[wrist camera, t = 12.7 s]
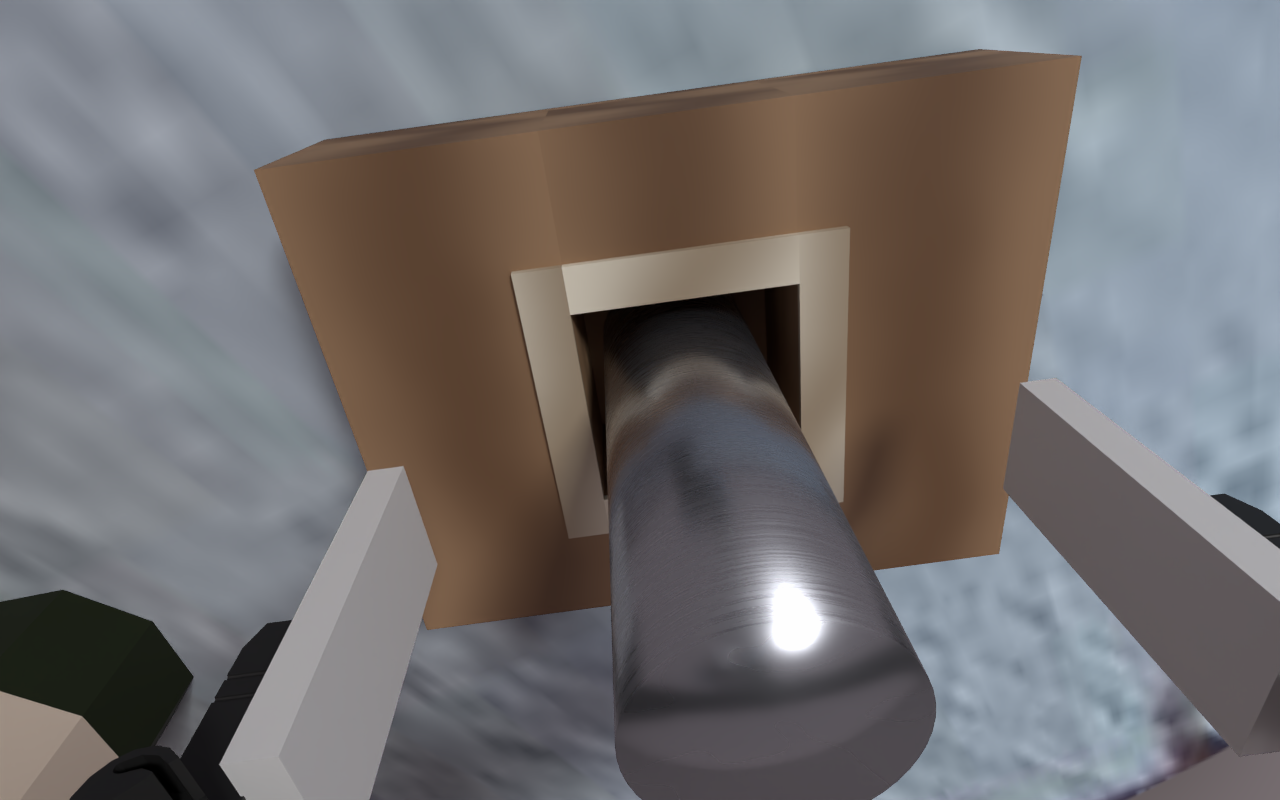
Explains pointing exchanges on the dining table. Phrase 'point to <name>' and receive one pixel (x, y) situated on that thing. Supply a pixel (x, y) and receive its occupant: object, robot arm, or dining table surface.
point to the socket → (687, 297)
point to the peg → (740, 582)
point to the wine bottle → (78, 691)
